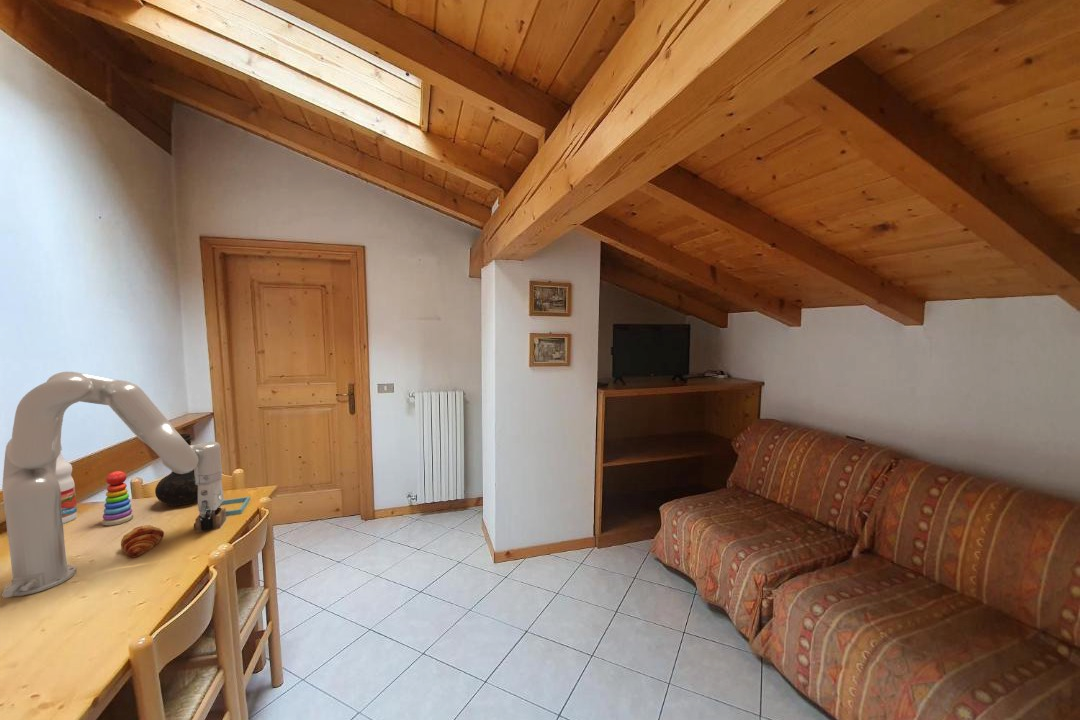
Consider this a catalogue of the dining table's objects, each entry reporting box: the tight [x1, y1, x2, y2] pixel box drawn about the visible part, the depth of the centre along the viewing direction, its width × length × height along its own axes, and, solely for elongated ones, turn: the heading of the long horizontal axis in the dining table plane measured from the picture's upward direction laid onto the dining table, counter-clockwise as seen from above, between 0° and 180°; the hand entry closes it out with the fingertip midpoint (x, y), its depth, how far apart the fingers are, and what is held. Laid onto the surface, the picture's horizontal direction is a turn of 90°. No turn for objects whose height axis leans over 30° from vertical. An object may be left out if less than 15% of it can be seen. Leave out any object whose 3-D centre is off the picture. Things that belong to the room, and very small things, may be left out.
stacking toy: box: [101, 470, 134, 526], centre depth 147 cm, size 8×8×19 cm
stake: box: [196, 511, 229, 533], centre depth 145 cm, size 9×7×6 cm
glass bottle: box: [154, 433, 198, 506], centre depth 164 cm, size 18×18×28 cm
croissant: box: [120, 524, 165, 558], centre depth 132 cm, size 21×10×8 cm, turn 39°
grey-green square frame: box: [206, 496, 251, 517], centre depth 156 cm, size 13×13×2 cm
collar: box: [193, 507, 227, 533], centre depth 144 cm, size 7×8×4 cm
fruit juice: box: [55, 446, 78, 524], centre depth 146 cm, size 9×9×28 cm
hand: (211, 523), depth 144 cm, fingers open, 7 cm apart
